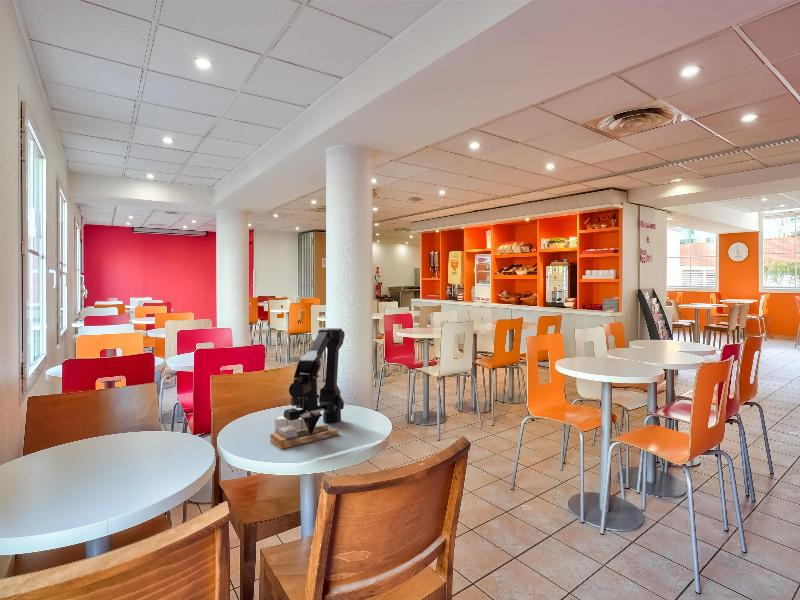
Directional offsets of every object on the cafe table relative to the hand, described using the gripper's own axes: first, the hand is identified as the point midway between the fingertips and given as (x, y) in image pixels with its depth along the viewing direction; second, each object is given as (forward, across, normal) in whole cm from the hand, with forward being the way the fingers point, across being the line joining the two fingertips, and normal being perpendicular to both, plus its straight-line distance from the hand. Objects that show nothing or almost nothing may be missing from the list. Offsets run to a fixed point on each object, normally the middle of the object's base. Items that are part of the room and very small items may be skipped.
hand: (310, 433), depth 170 cm
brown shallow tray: (+2, +2, 0) cm, 3 cm away
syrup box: (-1, +7, -17) cm, 18 cm away
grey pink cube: (+1, +9, 0) cm, 9 cm away
